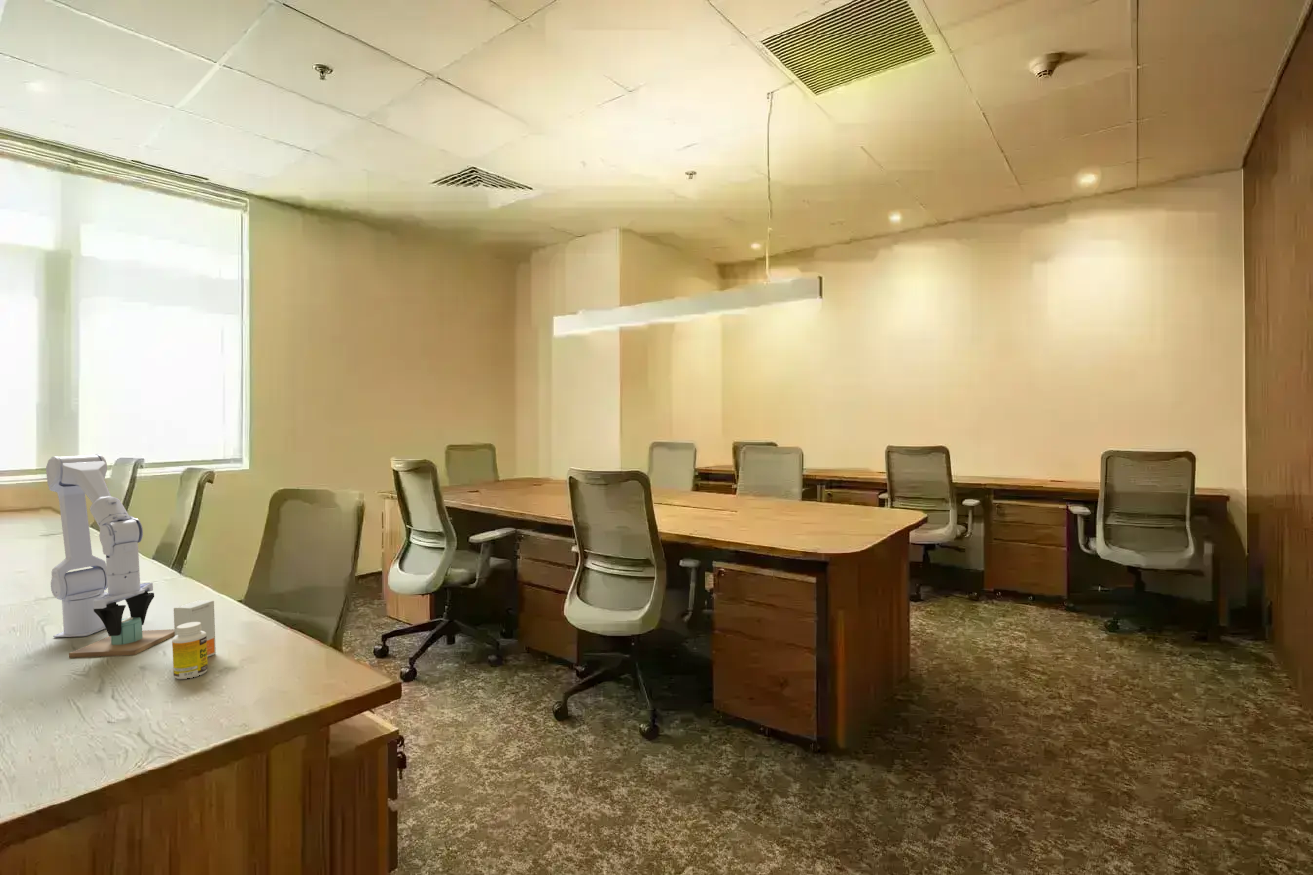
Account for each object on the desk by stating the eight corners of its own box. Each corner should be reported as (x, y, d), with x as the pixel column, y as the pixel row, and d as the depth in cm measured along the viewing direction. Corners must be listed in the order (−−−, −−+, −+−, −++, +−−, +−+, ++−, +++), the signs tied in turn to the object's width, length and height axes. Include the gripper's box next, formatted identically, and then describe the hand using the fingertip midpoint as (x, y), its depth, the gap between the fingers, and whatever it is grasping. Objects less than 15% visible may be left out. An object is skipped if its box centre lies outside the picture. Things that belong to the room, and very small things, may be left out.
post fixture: (120, 635, 151) (119, 619, 151) (180, 632, 152) (179, 616, 152) (69, 657, 137) (68, 639, 137) (134, 654, 138) (133, 636, 138)
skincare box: (191, 664, 131) (188, 608, 131) (175, 663, 132) (172, 607, 132) (217, 653, 137) (214, 600, 137) (201, 652, 138) (198, 599, 138)
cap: (124, 636, 147) (123, 616, 147) (147, 635, 147) (146, 615, 147) (105, 645, 142) (103, 623, 141) (129, 644, 142) (128, 622, 142)
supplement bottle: (205, 676, 125) (202, 626, 124) (170, 682, 122) (168, 631, 122) (210, 667, 130) (208, 618, 129) (177, 672, 127) (175, 623, 127)
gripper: (115, 579, 137) (119, 640, 137) (164, 564, 151) (167, 619, 152) (82, 580, 137) (85, 641, 137) (134, 565, 151) (137, 620, 151)
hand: (126, 630), depth 144 cm, fingers open, 6 cm apart
